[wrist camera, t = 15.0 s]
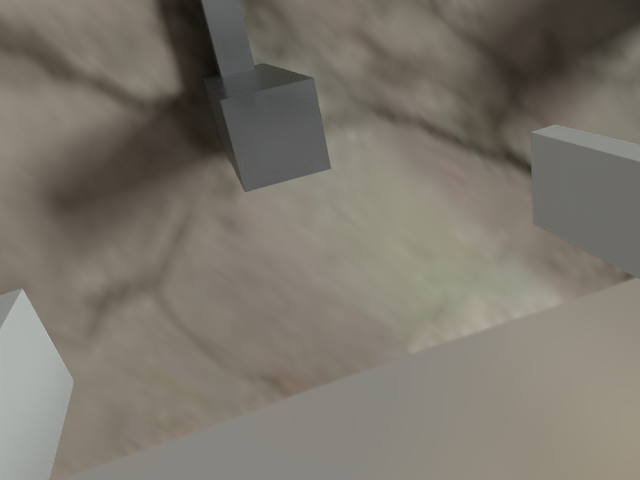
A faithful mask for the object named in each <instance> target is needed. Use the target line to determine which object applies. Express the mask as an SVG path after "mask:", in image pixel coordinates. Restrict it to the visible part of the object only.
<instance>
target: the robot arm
mask: <svg viewBox="0 0 640 480" xmlns="http://www.w3.org/2000/svg"><path fill="white" fill-rule="evenodd" d="M531 157H532V201H533V224H534V225H536V226H538V227H540V228H542V229H544V230H546V231H548V232H550V233H552V234H554V235H556V236H558V237H559V238H561V239H563V240H565V241H567V242H569V243H571V244H573V245H575V246H577V247H579V248H581V249H583V250H585V251H587V252H589V253H590V254H592V255H594V256H596V257H598V258H600V259H602V260H604V261H606V262H608V263H610V264H612V265H614V266H616V267H618V268H620V269H621V270H623V271H625V272H627V273H629V274H631V275H633V276H635V277H637V278H639V279H640V144H636V143H632V142H627V141H623V140H619V139H615V138H610V137H606V136H602V135H597V134H593V133H589V132H585V131H580V130H576V129H572V128H568V127H563V126H559V125H553V126H549V127H546V128H543V129H540V130H536V131H533V132H531ZM73 384H74V381H73V379H72V377H71V375H70V373H69V372H68V370H67V368H66V366H65V364H64V363H63V361H62V359H61V357H60V355H59V354H58V352H57V350H56V348H55V346H54V345H53V343H52V341H51V339H50V337H49V336H48V334H47V332H46V330H45V328H44V327H43V325H42V323H41V321H40V319H39V318H38V316H37V314H36V312H35V310H34V309H33V307H32V305H31V303H30V301H29V300H28V298H27V296H26V294H25V292H24V290H23V289H19V290H16V291H12V292H9V293H6V294H3V295H0V480H49V479H50V475H51V471H52V467H53V463H54V459H55V455H56V451H57V447H58V443H59V439H60V435H61V431H62V427H63V424H64V420H65V416H66V412H67V408H68V404H69V400H70V396H71V392H72V388H73Z"/></svg>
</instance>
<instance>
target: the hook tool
mask: <svg viewBox="0 0 640 480" xmlns="http://www.w3.org/2000/svg"><path fill="white" fill-rule="evenodd" d="M198 1H199V4H200V8H201V12H202V16H203V19H204V23H205V27H206V31H207V34H208V38H209V42H210V46H211V49H212V53H213V57H214V61H215V64H216V68H217V72H218V74H216V75H212V76H207V77H203V82H204V86H205V89H206V93H207V96H208V100H209V103H210V107H211V110H212V114H213V118H214V121H215V125H216V128H217V132H218V135H219V139H220V142H221V144H222V146H223V148H224V150H225V152H226V154H227V156H228V158H229V160H230V162H231V164H232V166H233V168H234V170H235V172H236V174H237V176H238V179H239V181H240V183H241V185H242V187H243V189H244V191H245V192H247V191H251V190H254V189H258V188H262V187H265V186H269V185H273V184H276V183H280V182H284V181H287V180H291V179H295V178H298V177H302V176H306V175H309V174H313V173H317V172H320V171H324V170H328V169H331V167H330V161H329V156H328V151H327V145H326V140H325V135H324V129H323V124H322V119H321V114H320V108H319V103H318V98H317V92H316V87H315V82H314V78H312V77H309V76H305V75H302V74H299V73H295V72H292V71H289V70H285V69H282V68H278V67H275V66H272V65H268V64H265V63H264V64H260V65H255V66H254V62H253V58H252V54H251V50H250V45H249V41H248V37H247V33H246V28H245V24H244V20H243V16H242V11H241V7H240V3H239V0H198Z"/></svg>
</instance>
